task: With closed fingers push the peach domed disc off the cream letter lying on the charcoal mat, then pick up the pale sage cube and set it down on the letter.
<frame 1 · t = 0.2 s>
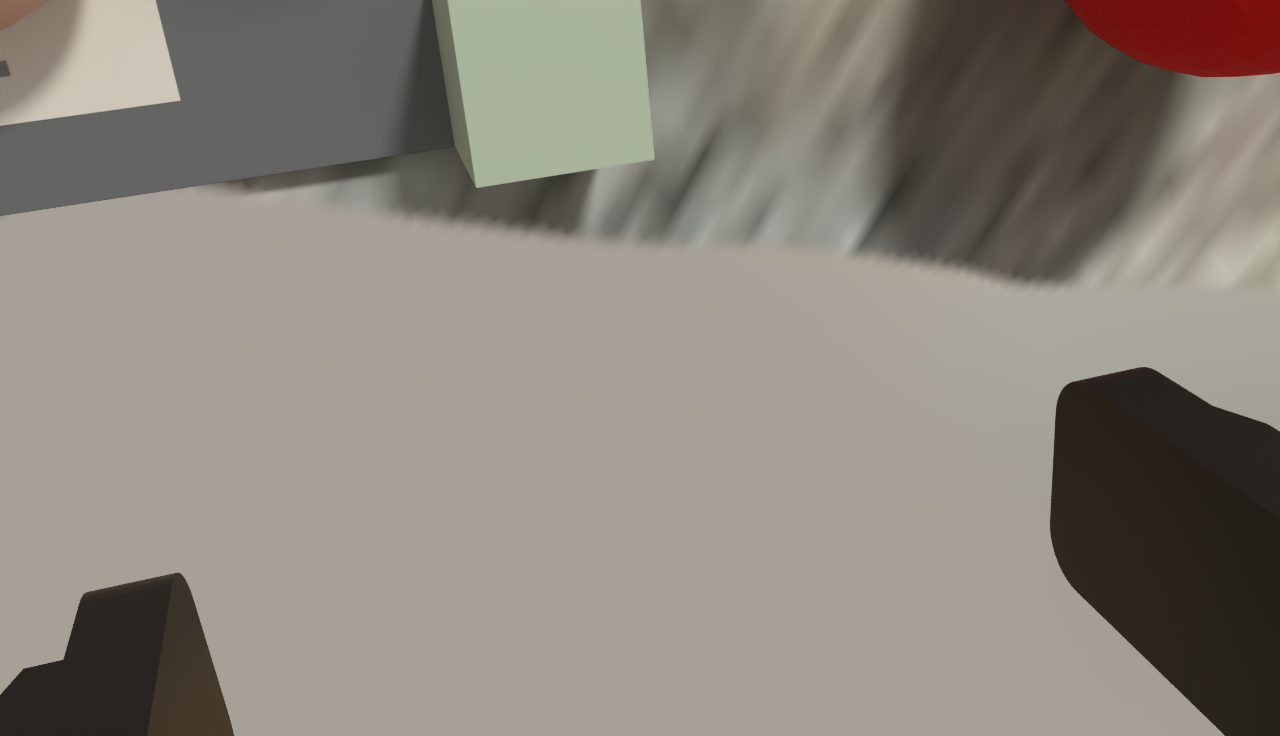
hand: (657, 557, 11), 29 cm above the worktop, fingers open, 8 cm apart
cube: (524, 52, 37), point 1 cm above the worktop, touching mat
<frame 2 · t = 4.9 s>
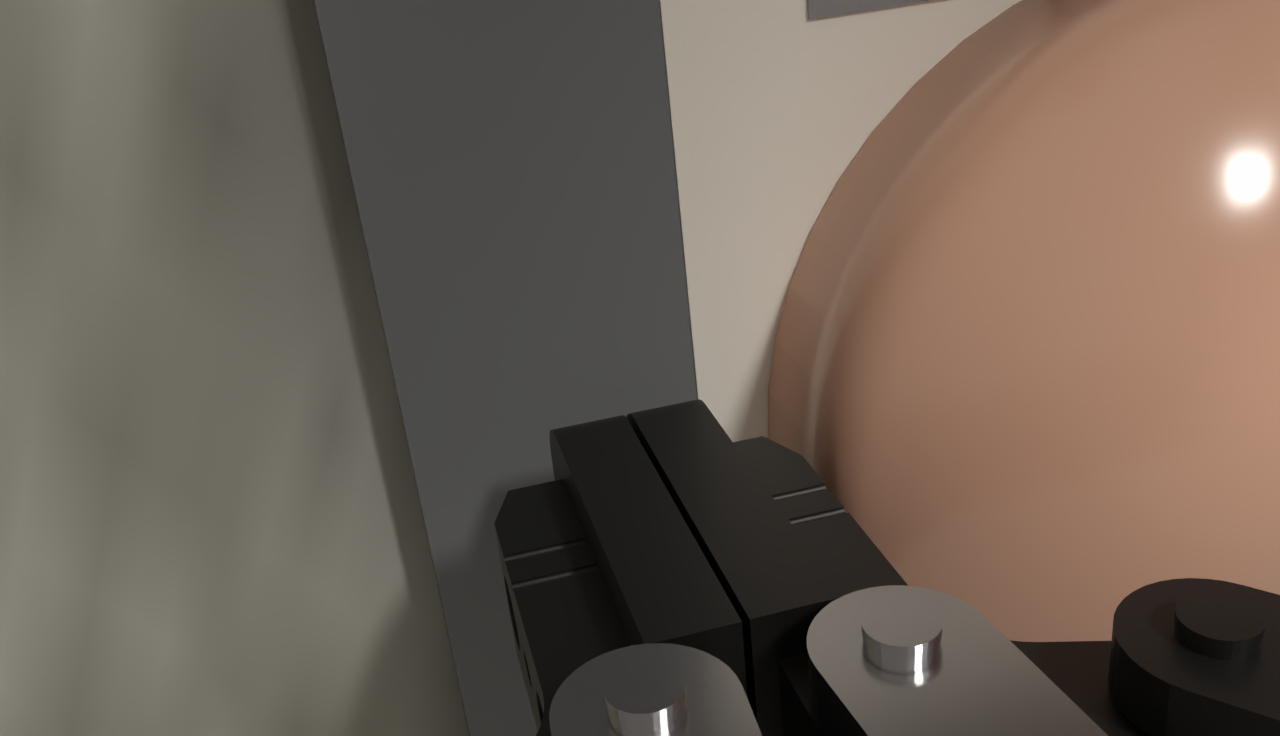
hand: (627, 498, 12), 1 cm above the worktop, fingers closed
peach domed disc: (1141, 358, 14), point 1 cm above the worktop, touching gripper
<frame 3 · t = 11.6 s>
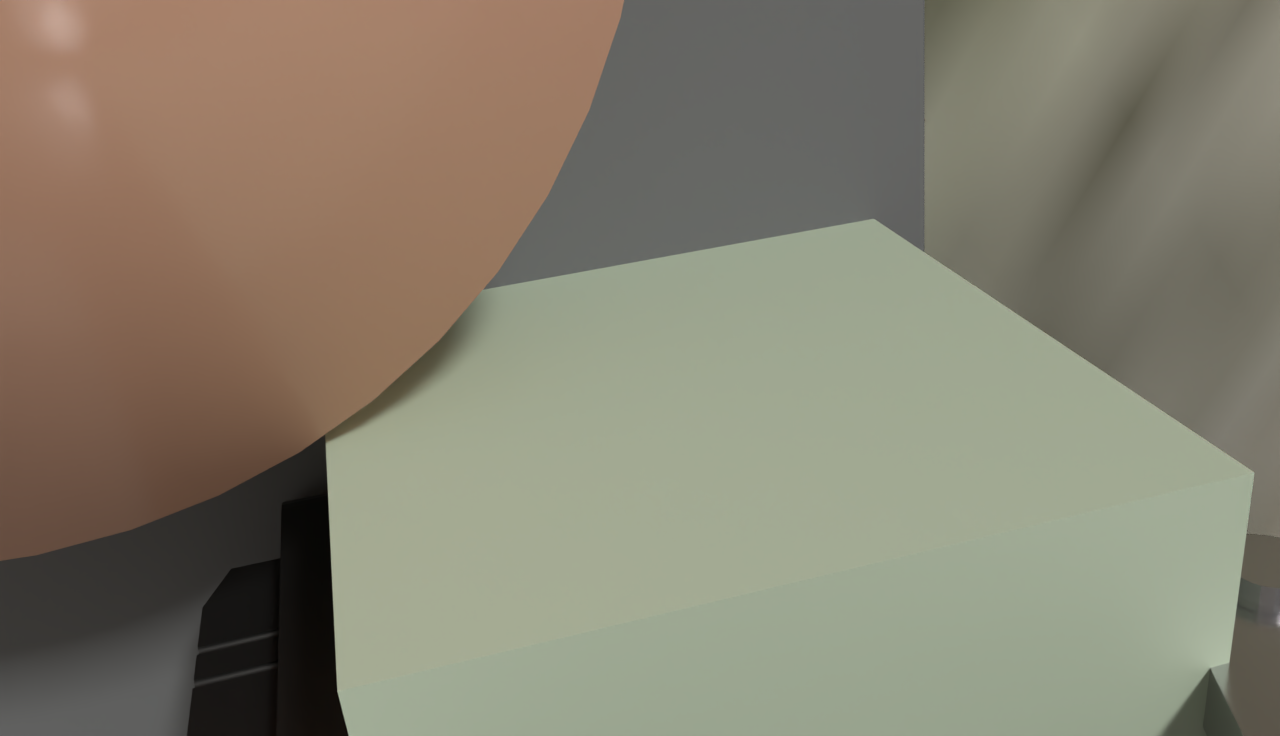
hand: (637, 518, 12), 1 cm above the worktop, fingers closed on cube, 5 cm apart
cube: (636, 510, 12), point 1 cm above the worktop, touching gripper, mat
when the fingers open (2 cm above the worktop, at t = 17.0 s): cube drops 1 cm, resting on mat.
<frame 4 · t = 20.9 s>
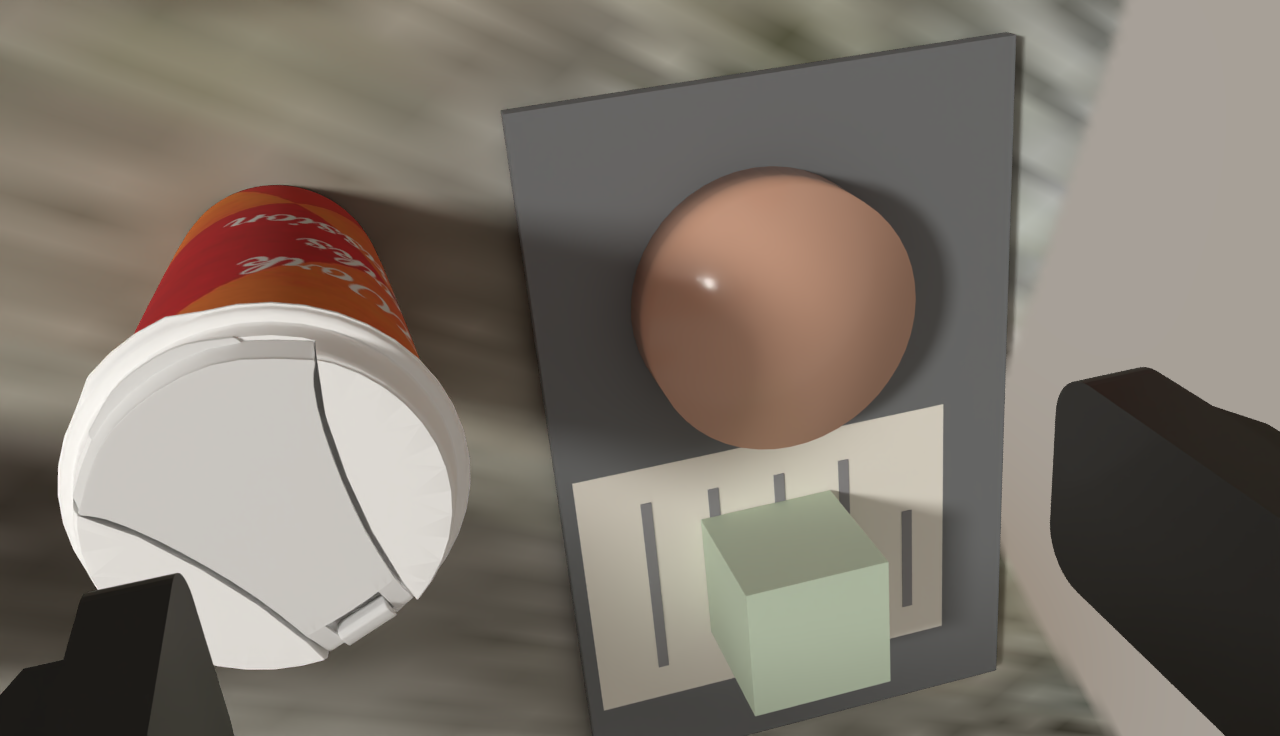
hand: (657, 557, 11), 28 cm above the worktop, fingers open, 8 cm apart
mat: (783, 429, 44), on the worktop
peach domed disc: (759, 297, 41), point 1 cm above the worktop, touching mat
coffee cup: (279, 274, 38), on the worktop
cube: (769, 561, 46), point 1 cm above the worktop, touching mat
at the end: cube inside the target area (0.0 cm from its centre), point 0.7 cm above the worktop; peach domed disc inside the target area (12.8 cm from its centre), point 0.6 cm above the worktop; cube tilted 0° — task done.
